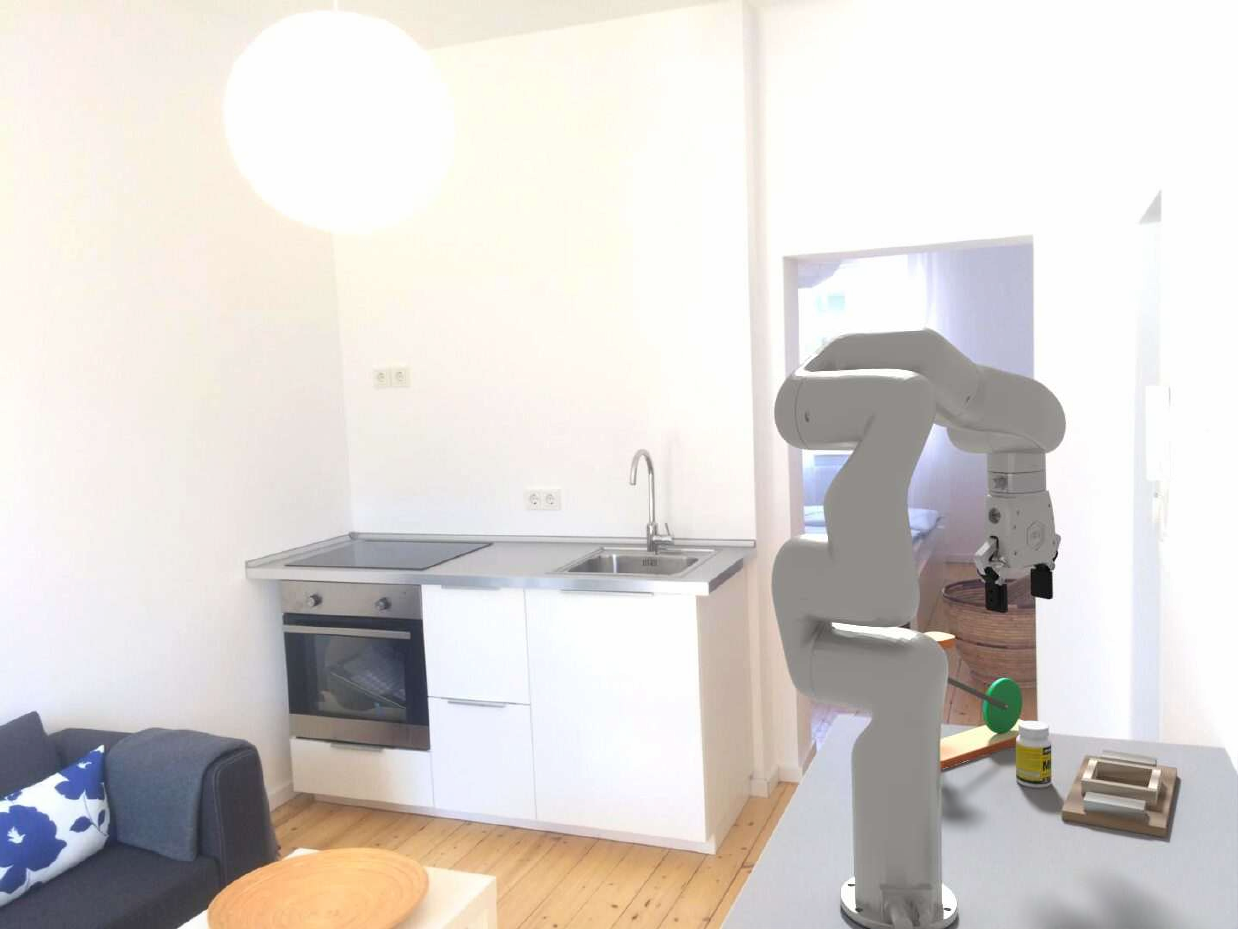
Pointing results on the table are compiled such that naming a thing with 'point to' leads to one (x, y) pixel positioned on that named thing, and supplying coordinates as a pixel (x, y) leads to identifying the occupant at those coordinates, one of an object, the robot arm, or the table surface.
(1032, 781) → the supplement bottle
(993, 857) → the table surface
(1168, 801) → the jig board
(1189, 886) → the table surface
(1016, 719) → the crank mechanism
